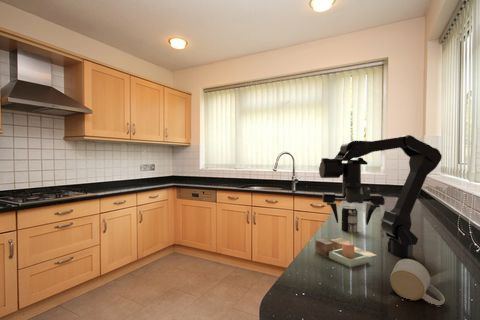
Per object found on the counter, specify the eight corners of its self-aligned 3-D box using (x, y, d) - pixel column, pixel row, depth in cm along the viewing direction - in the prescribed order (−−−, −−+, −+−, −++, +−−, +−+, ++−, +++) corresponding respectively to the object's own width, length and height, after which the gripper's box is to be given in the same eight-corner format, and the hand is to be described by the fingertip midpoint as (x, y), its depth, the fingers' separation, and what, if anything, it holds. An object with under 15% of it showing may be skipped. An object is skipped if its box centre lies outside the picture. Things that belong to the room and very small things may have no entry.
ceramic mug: (388, 295, 60) (389, 264, 60) (394, 283, 66) (395, 255, 66) (443, 314, 53) (445, 279, 53) (445, 298, 59) (446, 267, 59)
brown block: (333, 255, 82) (333, 243, 82) (326, 256, 80) (326, 244, 80) (321, 249, 86) (321, 238, 86) (315, 251, 85) (315, 239, 85)
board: (377, 259, 82) (377, 255, 82) (342, 269, 75) (342, 264, 75) (347, 247, 93) (347, 243, 93) (314, 255, 85) (314, 250, 85)
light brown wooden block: (351, 250, 86) (351, 242, 86) (341, 253, 84) (341, 244, 84) (339, 246, 90) (339, 238, 90) (330, 248, 88) (330, 239, 88)
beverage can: (343, 230, 115) (344, 205, 115) (358, 233, 111) (359, 207, 111) (339, 233, 110) (339, 207, 110) (355, 236, 106) (355, 209, 106)
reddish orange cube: (356, 259, 77) (356, 245, 77) (349, 261, 75) (349, 247, 75) (347, 255, 80) (347, 242, 80) (339, 257, 78) (339, 243, 78)
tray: (368, 262, 76) (368, 256, 76) (350, 267, 72) (350, 260, 72) (346, 253, 83) (346, 247, 83) (329, 257, 79) (329, 251, 79)
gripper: (323, 179, 78) (323, 228, 78) (389, 180, 73) (389, 232, 73) (322, 176, 89) (322, 219, 89) (379, 177, 83) (380, 223, 83)
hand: (351, 223), depth 83 cm, fingers open, 9 cm apart
